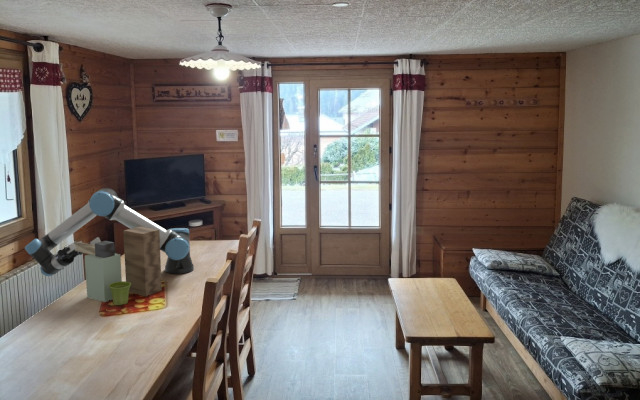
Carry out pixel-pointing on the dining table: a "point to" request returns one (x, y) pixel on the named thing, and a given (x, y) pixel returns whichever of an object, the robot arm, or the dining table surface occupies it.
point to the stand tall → (142, 260)
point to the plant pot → (120, 292)
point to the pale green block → (101, 276)
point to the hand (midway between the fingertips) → (87, 242)
